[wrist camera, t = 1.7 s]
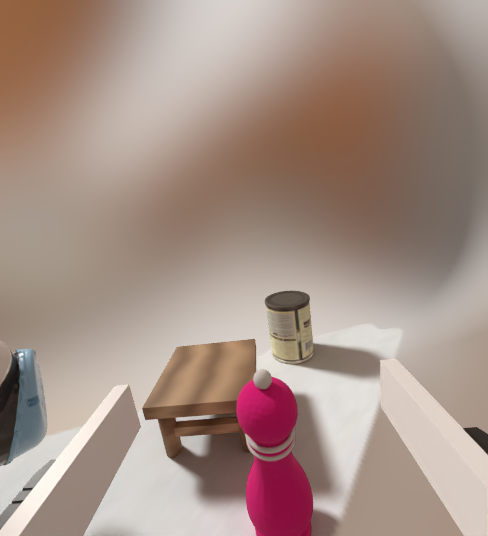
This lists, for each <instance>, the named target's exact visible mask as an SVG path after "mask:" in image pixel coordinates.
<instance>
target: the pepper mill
mask: <svg viewBox="0 0 488 536" xmlns="http://www.w3.org/2000/svg"><path fill="white" fill-rule="evenodd" d="M236 410H237V418H238V422H239V425H240V427H241V428H242V430H243V431H244V433H245V436H246V442H247V446H248V448H249V450H250V452H251V453H252V454H253V455H254V462H253V465H252V467H251V470H250V472H249V475H248V480H247V486H246V502H247V510H248V513H249V517H250V519H251V521H252V523H253V525H254V526H255V530H256V535H257V536H311V521H310V520H311V517H312V512H313V496H312V492H311V487H310V484H309V481H308V478H307V476H306V474H305V472H304V470H303V468H302V467H301V466H300V464H299V463H298V461H297V460H296V459H295V457H294V456H293V454H292V449H293V447H294V445H295V429H294V426H295V424H296V420H297V415H298V413H297V404H296V400H295V397H294V394H293V393H292V391H291V389H290V388H289V387H288V386H287V385H286V384H285V383H284V382H283V381H281V380H279V379H277V378H274V377H271V375H270V373H269V372H268V371H267V370H264V369H261V370H258V371H257V372H256V373H255V374H254V377H253V380H251V381H249V382H248V383H247V384H246V385H245V386H244V387H243V388H242V390H241V392H240V394H239V396H238V400H237V407H236Z"/></svg>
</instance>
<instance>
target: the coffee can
mask: <svg viewBox="0 0 488 536" xmlns="http://www.w3.org/2000/svg"><path fill="white" fill-rule="evenodd" d="M309 300H310V298H309V295H307V294H306V293H304V292H299V291H283V292H278V293H274V294H272V295H270V296H268V297H267V298H266V299H265V304H266V309H267V317H268V324H269V331H270V339H271V346H272V355H273V357H274V358H275V359H276V360H278V361H280V362H282V363H287V364H298V363H303V362H305V361H307V360H309V359H310V358H311V357H312V356H313V354H314V349H313V338H312V328H311V315H310V305H309Z"/></svg>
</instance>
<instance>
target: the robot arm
mask: <svg viewBox="0 0 488 536" xmlns="http://www.w3.org/2000/svg"><path fill="white" fill-rule="evenodd" d="M380 381H381V407H382V409H383V411H384V412H385V414H386V415H387V417H388V418H389V420H390V421H391V423H392V424H393V426H394V428H395V429H396V430H397V432H398V434H399V435H400V437H401V438H402V440H403V442H404V443H405V445H406V446H407V448H408V449H409V450H410V452H411V454H412V455H413V457H414V459H415V460H416V462H417V463H418V465H419V466H420V468H421V469H422V471H423V473H424V474H425V476H426V477H427V479H428V480H429V482H430V484H431V485H432V487H433V488H434V490H435V491H436V493H437V494H438V496H439V497H440V499H441V501H442V502H443V503H444V505H445V507H446V508H447V510H448V511H449V513H450V514H451V516H452V518H453V519H454V521H455V522H456V524H457V525H458V527H459V528H460V530H461V532H462V533H463V535H464V536H488V434H487V433H485V432H484V431H482V430H480V429H479V428H477V427H474V428H462V427H461V426H460V425H459V424H458V423H457V422H456V421H455V420H454V419H453V418H452V417H451V416H450V415H449V414H448V413H447V412H446V411H445V410H444V409H443V408H442V406H441V405H440V404H439V403H438V402H437V401H436V400H435V399H434V398H433V397H432V396H431V395H430V394H429V393H428V392H427V391H426V390H425V389H424V388H423V387H422V385H421V384H420V383H419V382H418V381H417V380H416V379H415V378H414V377H413V376H412V375H411V374H410V373H409V372H408V371H407V370H406V369H405V368H404V367H403V366H402V365H401V363H400V362H399V361H398V360H397V359H387V360H380ZM140 427H141V426H140V422H139V418H138V415H137V411H136V408H135V404H134V401H133V397H132V394H131V390H130V387H129V385H118V386H115V387H114V388H113V389H112V391H111V392H110V393H109V394H108V396H107V397H106V398H105V399H104V401H103V402H102V403H101V404H100V406H99V407H98V408H97V409H96V411H95V412H94V413H93V414H92V416H91V417H90V418H89V420H88V421H87V422H86V423H85V424H84V426H83V427H82V428H81V429H80V431H79V432H78V433H77V434H76V436H75V437H74V438H73V439H72V441H71V442H70V443H69V444H68V446H67V447H66V448H65V449H64V451H63V452H62V453H61V454H60V456H59V457H58V458H57V459H56V460H50V461H49V462H48V463H47V464H46V465H45V466H43V467H42V468H41V469H40V470H39V471H38V472H36V473H35V475H34V476H33V477H32V478H31V479H30V480H29V482H28V483H27V484H26V485H25V486H24V488H23V490H22V491H20V492H19V494H18V495H17V496H16V497H15V498H14V500H13V501H12V504H9V506H8V507H7V508H6V509H5V510H4V512H3V513H2V514H1V515H0V536H83V535H84V533H85V531H86V529H87V527H88V525H89V524H90V522H91V520H92V518H93V516H94V514H95V512H96V510H97V508H98V507H99V505H100V503H101V501H102V499H103V497H104V495H105V493H106V491H107V490H108V488H109V486H110V484H111V482H112V480H113V478H114V476H115V474H116V473H117V471H118V469H119V467H120V465H121V463H122V461H123V459H124V457H125V456H126V454H127V452H128V450H129V448H130V446H131V444H132V442H133V440H134V439H135V437H136V435H137V433H138V431H139V429H140ZM46 432H47V415H46V405H45V397H44V390H43V384H42V378H41V373H40V367H39V363H38V359H37V355H36V352H35V351H34V350H33V349H29V348H28V349H19V350H16V351H15V352H14V353H11V351H10V349H9V348H8V346H7V345H6V344H5V343H4V342H3V341H1V340H0V466H2V465H7V464H9V463H10V462H11V461H12V460H13V459H14V458H16V457H18V456H20V455H21V454H23V453H25V452H27V451H29V450H30V449H32V448H34V447H35V446H37V445H38V444H39V443H40V442H41V441H42V440H43V438H44V437H45V435H46Z"/></svg>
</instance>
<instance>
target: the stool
mask: <svg viewBox="0 0 488 536" xmlns="http://www.w3.org/2000/svg"><path fill="white" fill-rule="evenodd" d="M255 373H256V345H255V339H250V340H240V341H230V342H221V343H211V344H202V345H192V346H182V347H177V348H176V350H175V352H174V354H173V355H172V357H171V359H170V361H169V363H168V364H167V366H166V368H165V370H164V371H163V373H162V375H161V376H160V378H159V380H158V382H157V383H156V385H155V387H154V389H153V390H152V392H151V394H150V396H149V397H148V399H147V401H146V403H145V404H144V406H143V408H142V409H143V413H144V416H145V420H151V419H158V422H159V426H160V430H161V434H162V437H163V441H164V445H165V449H166V453H167V456H168V457H170V458H174V457H176V456H178V455H179V454H180V453H181V451H182V444H181V440H180V436H194V435H207V434H221V433H235V432H240V437H241V443H242V448H243V450H244V451H245V452H248V453H251V452H250V450H249V448H248V446H247V442H246V436H245V433H244V431H243V430H242V428H241V427H240V425H239V422H238V418H237V417H228V418H215V419H202V420H189V421H177V422H176V419H175V418H176V417H188V416H201V415H213V414H226V413H236V414H237V410H236V407H237V400H238V396H239V394H240V392H241V390H242V388H243V387H244V386H245V385H246V384H247V383H248V382H249V381H251V380H253V377H254V374H255Z"/></svg>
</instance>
